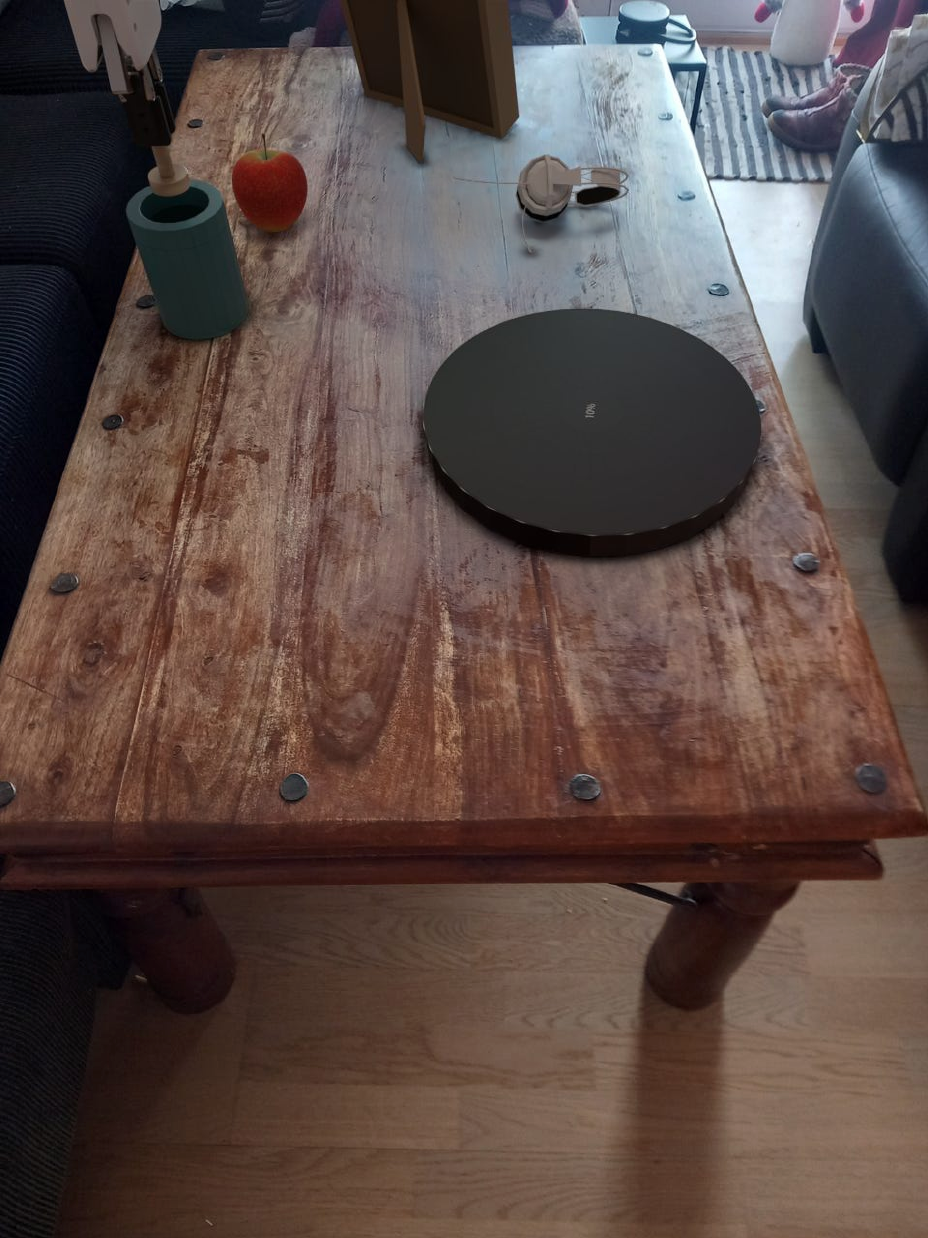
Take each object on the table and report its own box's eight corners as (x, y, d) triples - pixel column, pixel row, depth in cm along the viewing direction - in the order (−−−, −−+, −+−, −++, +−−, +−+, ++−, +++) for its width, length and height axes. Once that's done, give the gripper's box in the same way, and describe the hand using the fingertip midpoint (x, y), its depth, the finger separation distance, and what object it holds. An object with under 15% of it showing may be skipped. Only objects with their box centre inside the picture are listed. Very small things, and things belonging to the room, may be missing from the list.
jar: (155, 341, 94) (117, 232, 84) (169, 288, 99) (135, 179, 89) (243, 338, 94) (215, 229, 84) (253, 285, 99) (228, 177, 89)
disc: (429, 333, 94) (427, 307, 91) (724, 329, 93) (731, 304, 91) (419, 560, 76) (417, 536, 74) (783, 557, 75) (793, 533, 73)
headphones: (445, 206, 107) (614, 199, 108) (453, 257, 101) (632, 249, 102) (445, 135, 100) (626, 128, 101) (454, 186, 94) (645, 178, 96)
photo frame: (383, 83, 126) (364, -147, 106) (519, 124, 118) (526, -115, 98) (315, 129, 119) (281, -109, 98) (455, 176, 111) (448, -70, 91)
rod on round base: (148, 197, 84) (112, 81, 76) (155, 176, 86) (120, 61, 78) (187, 195, 84) (155, 80, 76) (193, 175, 86) (163, 60, 78)
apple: (231, 241, 104) (210, 153, 96) (257, 203, 109) (239, 115, 100) (298, 249, 103) (282, 161, 95) (321, 210, 107) (308, 123, 99)
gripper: (56, -150, 71) (130, 97, 86) (2, -76, 62) (96, 186, 77) (152, -153, 71) (210, 95, 86) (113, -80, 62) (185, 183, 77)
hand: (156, 137), depth 82 cm, fingers closed on rod on round base, 1 cm apart
